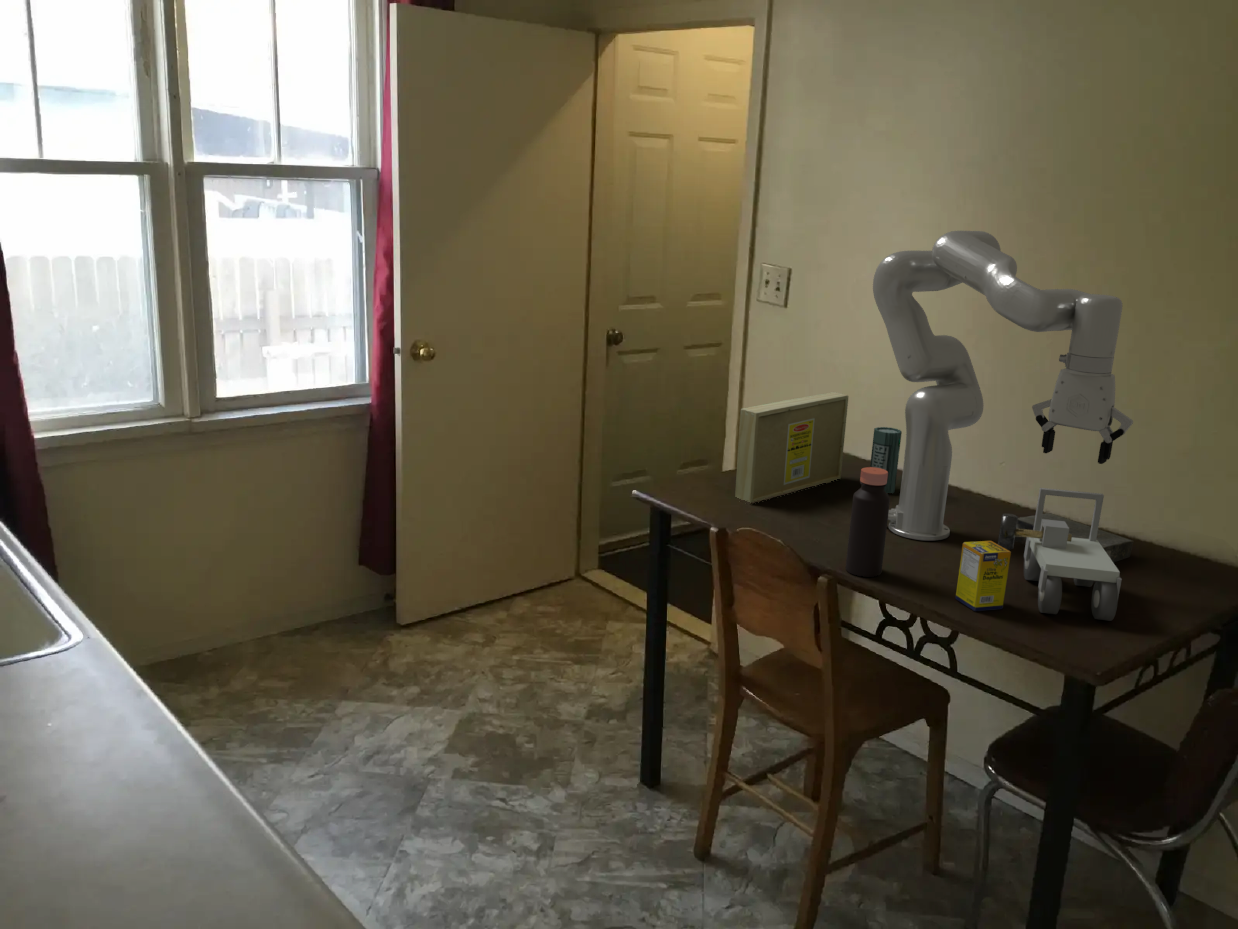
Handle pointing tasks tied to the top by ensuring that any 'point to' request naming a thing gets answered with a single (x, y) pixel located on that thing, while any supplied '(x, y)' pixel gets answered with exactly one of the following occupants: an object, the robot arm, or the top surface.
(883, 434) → the can
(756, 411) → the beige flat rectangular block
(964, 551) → the supplement box
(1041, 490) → the trolley
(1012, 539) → the hammer
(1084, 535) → the stone block
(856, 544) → the bottle
